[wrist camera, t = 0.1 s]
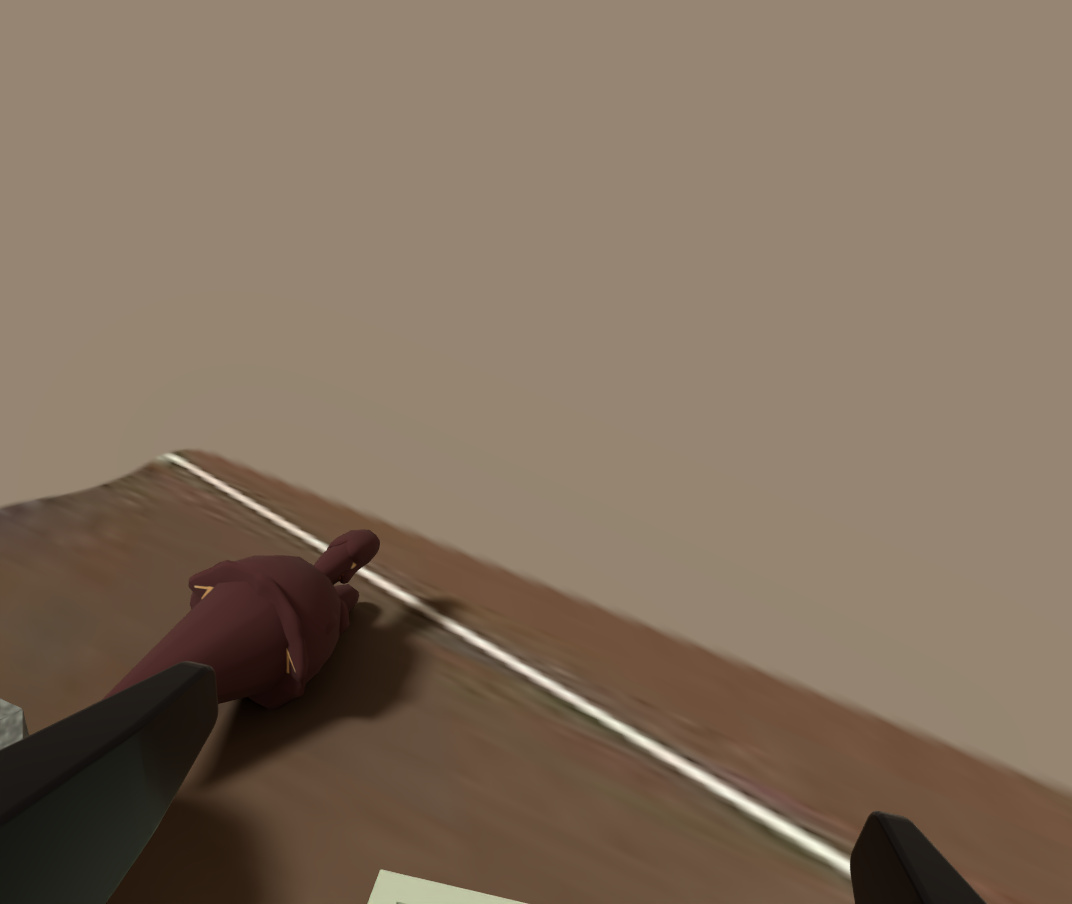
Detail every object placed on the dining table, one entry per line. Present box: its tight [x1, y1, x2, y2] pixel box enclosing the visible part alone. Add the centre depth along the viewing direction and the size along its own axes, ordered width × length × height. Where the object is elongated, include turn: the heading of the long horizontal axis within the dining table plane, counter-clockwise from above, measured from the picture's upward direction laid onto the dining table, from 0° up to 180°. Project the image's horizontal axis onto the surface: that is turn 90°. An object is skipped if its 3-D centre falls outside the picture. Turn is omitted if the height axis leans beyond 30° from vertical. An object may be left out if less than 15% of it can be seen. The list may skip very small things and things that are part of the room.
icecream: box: [102, 530, 380, 709], centre depth 29 cm, size 7×7×15 cm
